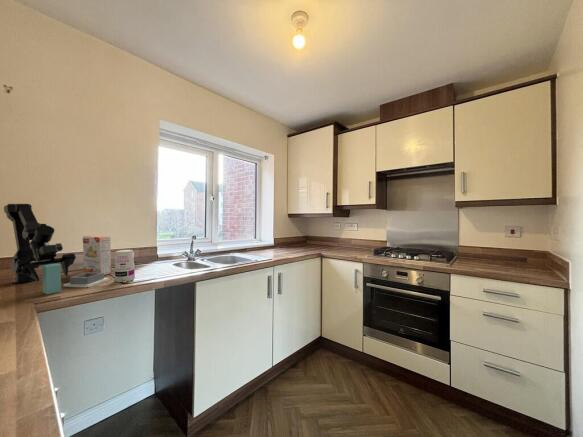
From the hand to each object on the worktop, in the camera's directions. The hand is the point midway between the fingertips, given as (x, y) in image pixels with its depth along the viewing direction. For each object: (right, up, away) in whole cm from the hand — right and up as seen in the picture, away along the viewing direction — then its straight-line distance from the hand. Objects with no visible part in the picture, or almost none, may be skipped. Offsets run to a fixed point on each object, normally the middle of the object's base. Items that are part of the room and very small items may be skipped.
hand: (53, 277), depth 106 cm
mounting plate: (+3, -6, +15) cm, 16 cm away
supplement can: (+18, -6, +19) cm, 27 cm away
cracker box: (-6, -5, +32) cm, 32 cm away
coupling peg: (-1, -7, +1) cm, 7 cm away
